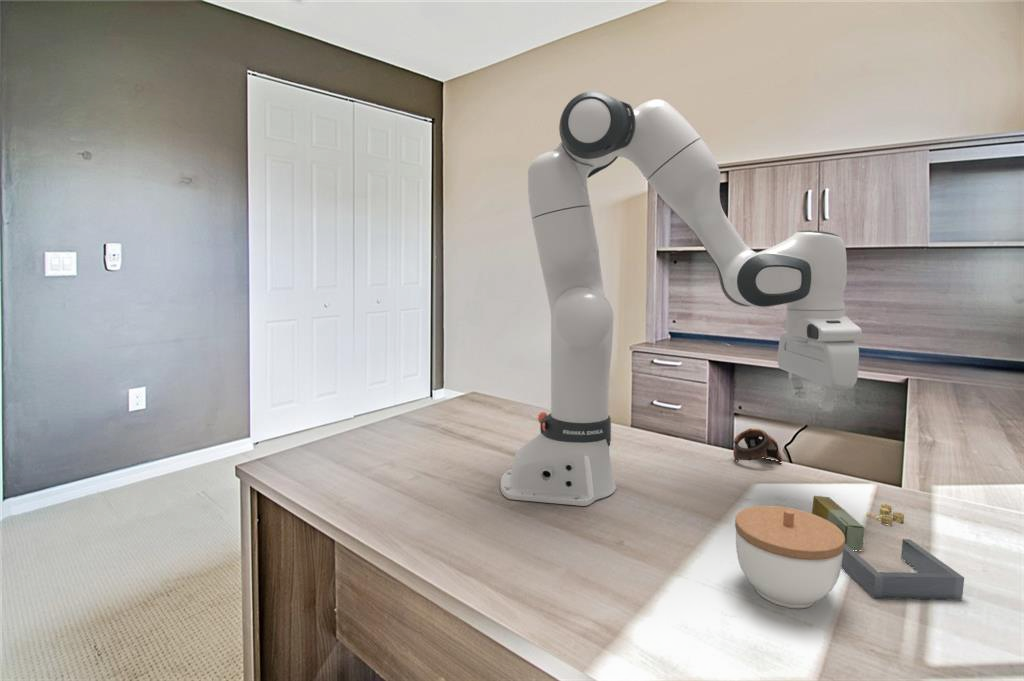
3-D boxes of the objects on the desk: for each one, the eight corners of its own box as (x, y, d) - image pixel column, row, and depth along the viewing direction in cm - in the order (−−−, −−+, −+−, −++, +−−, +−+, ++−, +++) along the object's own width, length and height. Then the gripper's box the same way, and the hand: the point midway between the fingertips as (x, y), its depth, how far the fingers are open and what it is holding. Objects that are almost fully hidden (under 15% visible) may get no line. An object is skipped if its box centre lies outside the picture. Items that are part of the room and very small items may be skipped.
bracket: (873, 598, 69) (875, 576, 69) (830, 557, 79) (832, 538, 79) (962, 599, 69) (964, 577, 69) (908, 558, 79) (909, 539, 79)
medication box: (863, 553, 81) (866, 527, 81) (844, 552, 81) (847, 526, 81) (826, 517, 93) (828, 495, 92) (810, 516, 93) (812, 494, 93)
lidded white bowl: (733, 609, 67) (737, 524, 66) (731, 559, 79) (734, 486, 78) (850, 632, 63) (857, 542, 62) (830, 576, 75) (835, 499, 73)
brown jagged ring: (792, 471, 115) (779, 441, 113) (749, 487, 117) (735, 458, 115) (770, 440, 126) (758, 413, 124) (731, 456, 128) (719, 428, 126)
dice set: (885, 514, 95) (886, 503, 95) (911, 527, 90) (912, 516, 90) (860, 516, 94) (861, 505, 94) (885, 530, 89) (886, 518, 89)
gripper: (769, 320, 105) (767, 391, 106) (827, 332, 84) (823, 418, 86) (803, 320, 104) (800, 390, 106) (868, 331, 84) (864, 418, 86)
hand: (811, 403), depth 96 cm, fingers open, 8 cm apart
